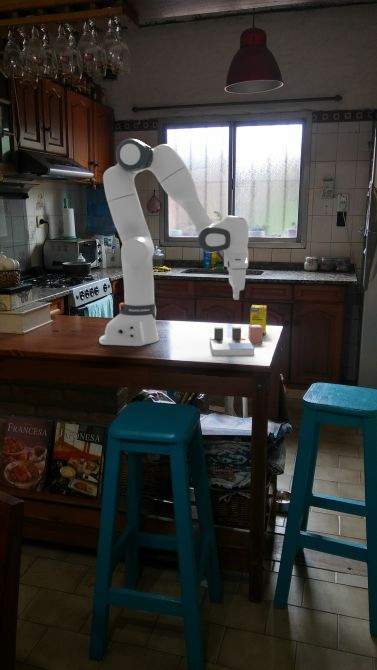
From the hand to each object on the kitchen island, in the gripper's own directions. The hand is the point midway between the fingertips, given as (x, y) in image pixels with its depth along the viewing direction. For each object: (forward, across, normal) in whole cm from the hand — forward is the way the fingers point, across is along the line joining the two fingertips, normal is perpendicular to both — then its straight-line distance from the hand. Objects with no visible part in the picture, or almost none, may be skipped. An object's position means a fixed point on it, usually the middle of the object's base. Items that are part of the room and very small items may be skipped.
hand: (236, 299), depth 198 cm
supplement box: (+16, -12, +10) cm, 23 cm away
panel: (+16, +12, -3) cm, 20 cm away
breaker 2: (+14, +6, 0) cm, 15 cm away
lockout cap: (+16, +2, +7) cm, 18 cm away
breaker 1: (+14, +5, -7) cm, 16 cm away
